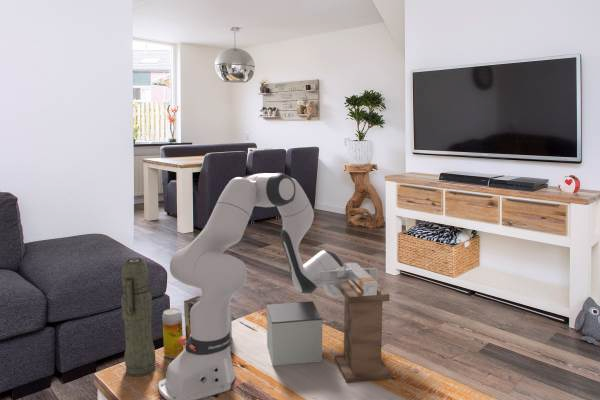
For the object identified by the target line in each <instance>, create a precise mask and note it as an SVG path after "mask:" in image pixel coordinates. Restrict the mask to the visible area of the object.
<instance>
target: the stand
mask: <svg viewBox="0 0 600 400" xmlns="http://www.w3.org/2000/svg"><path fill="white" fill-rule="evenodd" d="M339 291H340V292H341V293H342V294H343V296H342V297H344V314H343V315H344V318H343V319H344V322H343V324H344V327H343V330H344V331H343V339H344V340H343V354H339V355H334V359H333V361H334V362H335V364H336V367H337V368H338V370H339V372H340V373H341V376H342V377H343V380H344V382H345V384H352V383H362V382H371V381H379V380H390V379H392V378H393V377H392V376H393V375H392V374H393V373H392V372H391V371H390V370H389V368H388V366H387V365H386V364H385V362H384V361H383V359H382V341H383V340H382V339H383V338H382V334H383V302H389V301H390V293H389V292H388V291H386V290H385V289H384V287H383V286H382V285H380V284H379V283H378V282H377V295H371V296H363V295H362V292H361V291H360V290H359V288H358V287H357V286H356V285H355V284H354V283H353V282H352V281H351V280H350V279H347V283H339Z"/></svg>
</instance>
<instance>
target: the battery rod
mask: <svg viewBox="0 0 600 400" xmlns="http://www.w3.org/2000/svg"><path fill="white" fill-rule="evenodd" d="M343 267H344V269H347V270H348V271H347V272H348V275H346V277H347V279H350V280H351V281H352V282H353V283H354V284H355V285H356V286H357V287H358V288H359V290H360V291H361V292H362V295H363V296H371V295H377V283H378V280H375V279H374V278H373V277H371V276H370V275H369V274H368V273H367V272H366V271H365V270H364V269H365V268H364V267H362V266H361V265H359V263H357V262H345V263H343ZM363 268H364V269H363Z"/></svg>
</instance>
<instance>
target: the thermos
mask: <svg viewBox="0 0 600 400" xmlns="http://www.w3.org/2000/svg"><path fill="white" fill-rule="evenodd" d="M149 279H150V278H149V268H148V265H147V262H146V260H145V259H143V258H141V257H140V258H139V257H136V258H135V257H134V258H129V259H126V260H125V261H123V263H122V268H121V285H122V289H123V290H122V296H121V300H120V303H121V316H122V318H121V319H122V320H123V321H124V322H123V323H124V338H125V350H124V363H125V364H124V365H125V372H126V374H127V375H128V376H131V377H143V376H146V375H149V374H151V373H153V372H154V370H156V350H155V345H154V342H153V341H154V340H153V327H152V326H153V325H152V316H153V314H154V313H153V297H152V295H151V292H150V288H149V284H150V282H149V281H150V280H149Z"/></svg>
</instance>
